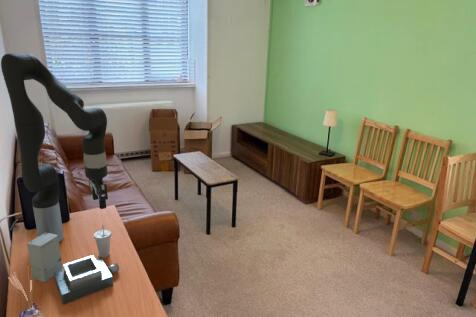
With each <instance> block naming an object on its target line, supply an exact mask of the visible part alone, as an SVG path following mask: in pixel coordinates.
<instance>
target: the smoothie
mask: <svg viewBox="0 0 476 317" xmlns="http://www.w3.org/2000/svg"><path fill="white" fill-rule="evenodd" d="M101 226H102V229H100V230H97V231H96V232H94V234H93V239H94V241H95V243H96V247H97V250H98V256H99V258H100V257H101V258H107V257H109V256H110V248H111V237H112V231H110V230H109V229H105V224H104V223H102V224H101Z"/></svg>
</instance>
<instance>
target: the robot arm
mask: <svg viewBox="0 0 476 317" xmlns="http://www.w3.org/2000/svg"><path fill="white" fill-rule="evenodd" d="M0 60H1V61H0V67H1V72H2V76H3V80H4V83H5V86H6V90H7V93H8V97H9V100H10V105H11V109H12V114H13V121H14V126H15V131H16V137H17V141H18V146H19V153H20V164H21V166H20V167H21V174H22V175H21V176H22V177H21V178H22V180H23V185H24V187H25V188H26V190H28V192H31V193H36V194H35V195H33V197H32V199H31V204H32V209H33V215H34V220H35V225H36V226H35V228H36V232H37V237H38V236H41V235H42V234H44V233H51V234H55V235H58V239H59V243H61V242H62V241H63V240H64V230H63V222H62V216H61V214H62V213H61V209H60V203H59V202H60V201H59V198H60V182H59V180H60V179H59V174H58V172H57V170H56V168H55V167H54V166H53V165H52V164H50V163H41V164H40V165H39V154H40V151H41V149H42V146H43V143H44V140H45V138H46V127H45V120H44V116H43V114H42V113H41V111H40V110H39V108H38V107H37V106H36V105H35V104H34V102H33V101H32V100H31V99H30V97H29V95H28V93H27V89H26V85H25V81H28V80H29V81H31V80H34V81H36V82H37V83H39V84H41V85H42V86H43V87H44V89H45V90H46V93H47V95H48V98H49V99H50V101H51V102H52V103H53V104H54V105H56V106H57V107H58V108H59V109H60V110H61V111H63V112H64V113H66V114H67V116H68V117H69V119H70V120H71V121H72V123H73V124H74V126H76V127H77V128H78V129H79V130H81V131H85V132H88V133H87V135H85V136H84V137H83V138H82V147H83V148H82V149H83V164H84V173H85V174H84V175H85V176H84V177H86V178H87V179H88V181H89V182H88V185H89V188H90V190H91V196H92V200H94V201H98V207H99V209H100V210H104V209H107V200H109V196H108V187H107V184H106V183H105V181H104V178H105V177H107V176H108V174H109V173H108V162H107V161H108V160H107V154H106V146H105V137H106V131H107V126H108V118H107V114H106V113H105V111H104V110H103V109H102V108H101V107H91V108H88V109H85V108H84V105H85V103H84V102H85V101H84V100H83V99H82V98H81V97H80V96H78V95H77V94H76V93H75V92H73V91H72V90H70V88H68V87H67V86H66V85H64V84H63V83H62V82H61V81H60V80H59V79H58V78H57V77H56V76H55V75H54V74H53V73H52V71H50V69H49V68H47V66H46V65H45V64H44V63H43V62H42V61H41V60H40V59H39V58H38V57H37V56H36V55H34V54H32V53H30V52H29V53H28V52H21V53H20V52H17V53H16V52H14V53H6V54H3V56H2V58H1V59H0Z"/></svg>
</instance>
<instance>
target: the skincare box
mask: <svg viewBox="0 0 476 317" xmlns="http://www.w3.org/2000/svg"><path fill="white" fill-rule="evenodd" d="M26 246H27V252H28V257H29V264H30V268H31V274H32V278H34V280H36V281H38V282H42V283H45V284H46V283H47V282H48V281H49V280H51V279H52V278H53V277H54V272H57V271H60V270H63V269H64V268H63V262H62V261H63V260H62V254H61V247H60V242H59V239H58V235H55V234H51V233H44V234H42V235H41V236H38V235H37V237H35V238H34V239H32V240H30V241H29V242H27V243H26Z"/></svg>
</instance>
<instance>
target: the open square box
mask: <svg viewBox="0 0 476 317" xmlns="http://www.w3.org/2000/svg"><path fill="white" fill-rule="evenodd" d="M62 267H63V269H62V270H60V271H57V272H54V276H53V277H54V282H55V285H56V288H57V290H58V294H59V296H60V299H61V301H62V302H61V303H62V304H63V305H66V304H69V303H72V302H74V301H76V300H80V299H82V298H85V297H87V296H89V295H92V294H95V293H97V292H100V291H103V290H105V289H108V288H110V287H111V288H112V287H113V286H114V280H113V275H112V274H115V273H117V272H119V271H120V266H119V264H118V263H117V262H116V263H112V264H110V265H106V263H105V261H104V259H103V257H100V256H99V257H96V258H95V256H94V254H93V255H89V256H85V257H83V258H79V259H77V260H76V259H75V260H73V261H70V262H67V263H64V264H63V263H62Z"/></svg>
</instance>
